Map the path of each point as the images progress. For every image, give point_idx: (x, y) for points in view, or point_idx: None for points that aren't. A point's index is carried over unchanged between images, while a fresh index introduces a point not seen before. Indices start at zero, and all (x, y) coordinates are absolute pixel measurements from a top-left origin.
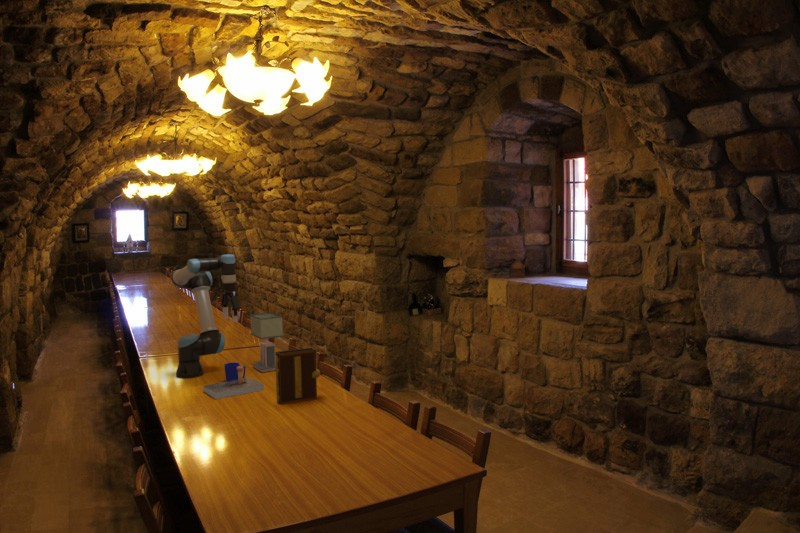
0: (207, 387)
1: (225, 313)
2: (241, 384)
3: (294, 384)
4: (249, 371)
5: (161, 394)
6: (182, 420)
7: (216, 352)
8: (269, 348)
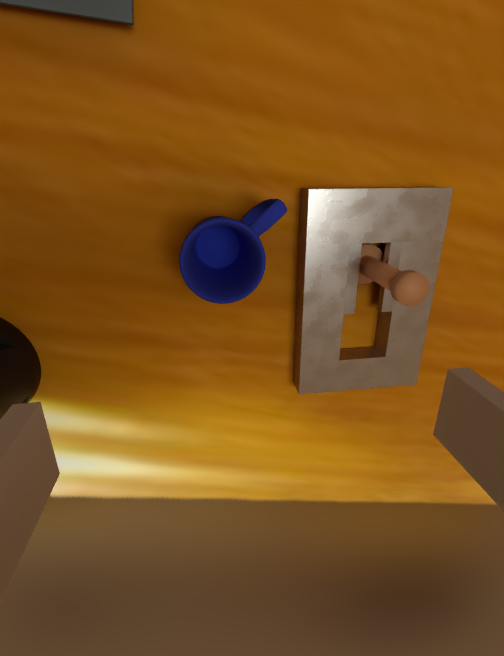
0: (332, 389)
1: (2, 532)
2: None
3: None
4: (49, 75)
5: (225, 487)
6: None
7: None
8: None
